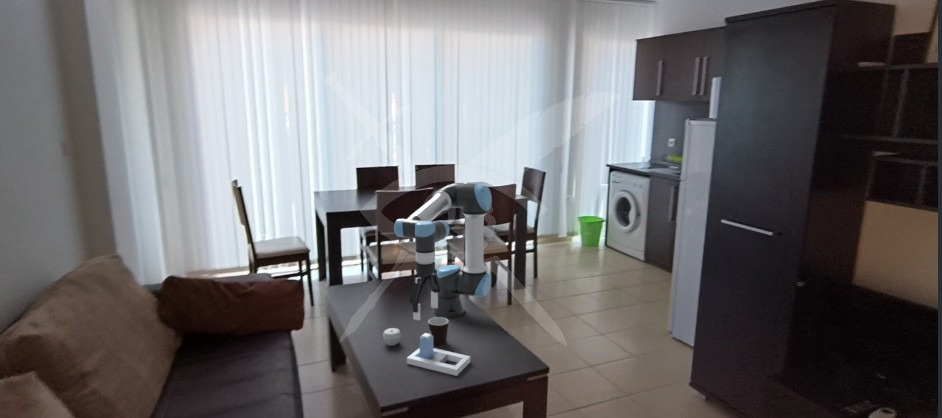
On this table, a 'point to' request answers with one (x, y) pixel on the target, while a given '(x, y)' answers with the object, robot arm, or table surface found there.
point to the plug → (426, 346)
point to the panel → (440, 361)
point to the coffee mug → (438, 330)
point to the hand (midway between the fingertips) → (425, 313)
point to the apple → (392, 336)
